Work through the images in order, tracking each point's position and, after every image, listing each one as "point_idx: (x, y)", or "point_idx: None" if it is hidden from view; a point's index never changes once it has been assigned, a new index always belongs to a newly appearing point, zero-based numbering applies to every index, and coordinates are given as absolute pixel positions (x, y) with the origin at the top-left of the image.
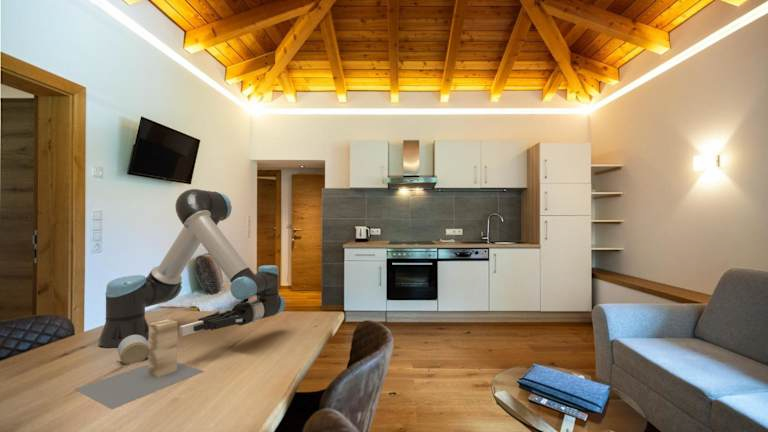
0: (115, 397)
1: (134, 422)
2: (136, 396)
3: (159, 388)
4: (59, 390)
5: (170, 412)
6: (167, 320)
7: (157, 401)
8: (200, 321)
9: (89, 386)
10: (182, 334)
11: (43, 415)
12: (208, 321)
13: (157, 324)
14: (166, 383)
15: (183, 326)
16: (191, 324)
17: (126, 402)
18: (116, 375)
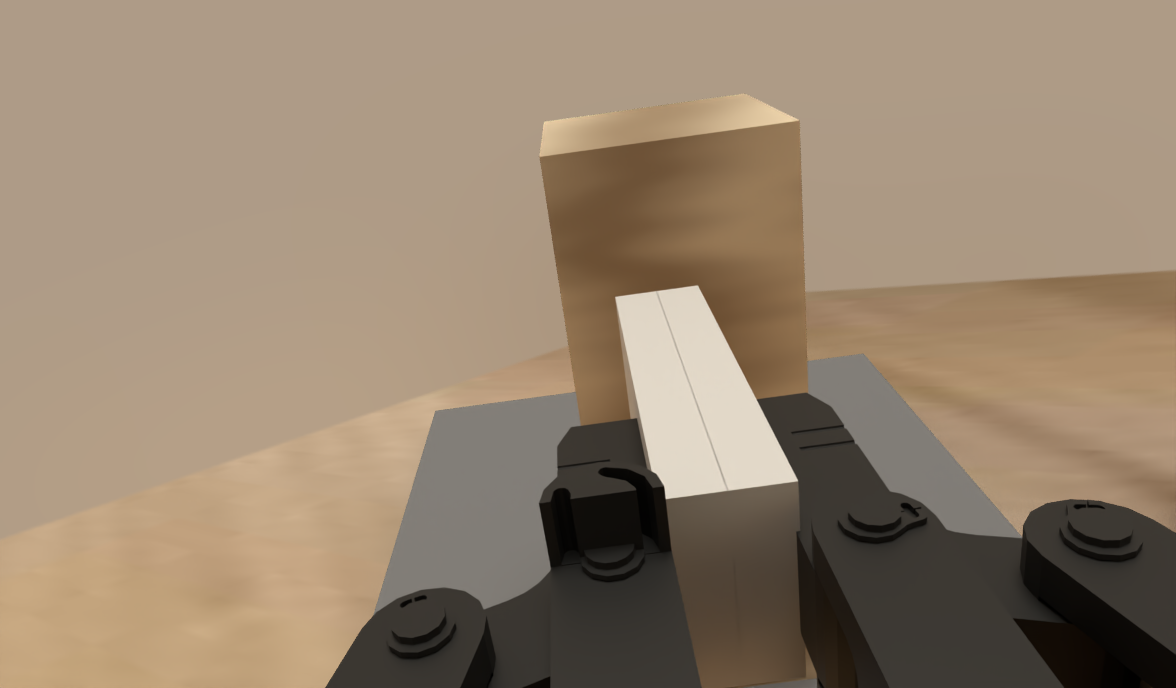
0: (549, 424)
1: (260, 460)
2: (450, 468)
3: (415, 544)
4: (965, 349)
5: (140, 545)
6: (730, 124)
7: (323, 539)
8: (709, 463)
9: (840, 381)
10: (629, 405)
11: None
12: (558, 583)
13: (633, 113)
14: (439, 582)
15: (634, 303)
16: (632, 356)
17: (434, 440)
18: (933, 452)
